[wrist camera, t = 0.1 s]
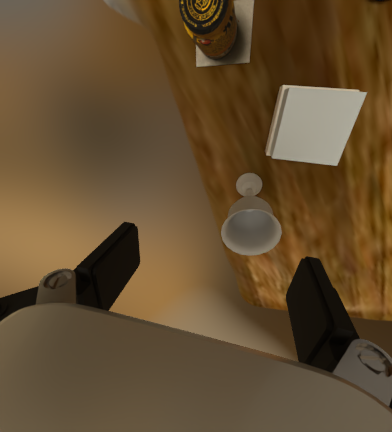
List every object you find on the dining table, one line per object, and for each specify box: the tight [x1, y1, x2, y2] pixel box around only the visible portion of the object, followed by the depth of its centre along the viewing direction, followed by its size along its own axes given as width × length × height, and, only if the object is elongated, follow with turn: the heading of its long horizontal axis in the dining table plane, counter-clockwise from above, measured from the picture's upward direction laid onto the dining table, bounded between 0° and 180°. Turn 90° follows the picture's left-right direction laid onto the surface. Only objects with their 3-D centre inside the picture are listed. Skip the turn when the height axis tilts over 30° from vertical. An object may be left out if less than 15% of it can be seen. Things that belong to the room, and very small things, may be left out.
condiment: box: [179, 0, 254, 67], centre depth 26 cm, size 7×8×12 cm
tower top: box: [270, 88, 367, 166], centre depth 29 cm, size 9×9×4 cm
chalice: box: [221, 173, 282, 255], centre depth 33 cm, size 7×7×18 cm
